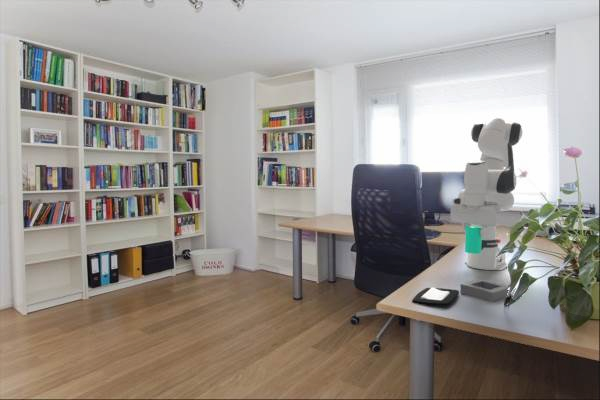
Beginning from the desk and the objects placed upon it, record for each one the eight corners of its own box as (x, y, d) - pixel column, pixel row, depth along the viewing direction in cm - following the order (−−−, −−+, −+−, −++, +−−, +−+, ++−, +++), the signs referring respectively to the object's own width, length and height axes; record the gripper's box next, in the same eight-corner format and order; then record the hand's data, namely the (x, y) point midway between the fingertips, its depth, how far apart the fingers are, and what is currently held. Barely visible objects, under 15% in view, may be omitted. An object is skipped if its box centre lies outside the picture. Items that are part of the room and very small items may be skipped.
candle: (483, 253, 152) (485, 224, 151) (469, 253, 152) (470, 223, 151) (476, 250, 158) (477, 222, 157) (462, 250, 158) (463, 222, 157)
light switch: (425, 284, 154) (461, 287, 146) (425, 291, 154) (462, 294, 146) (408, 298, 138) (448, 301, 130) (409, 305, 138) (449, 310, 130)
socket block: (479, 287, 156) (479, 278, 156) (511, 295, 145) (512, 286, 145) (460, 292, 149) (460, 283, 149) (492, 302, 138) (492, 292, 138)
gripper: (505, 202, 146) (503, 237, 147) (457, 199, 164) (456, 230, 164) (495, 202, 143) (494, 239, 144) (448, 199, 160) (447, 232, 161)
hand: (473, 234), depth 154 cm, fingers closed on candle, 5 cm apart
